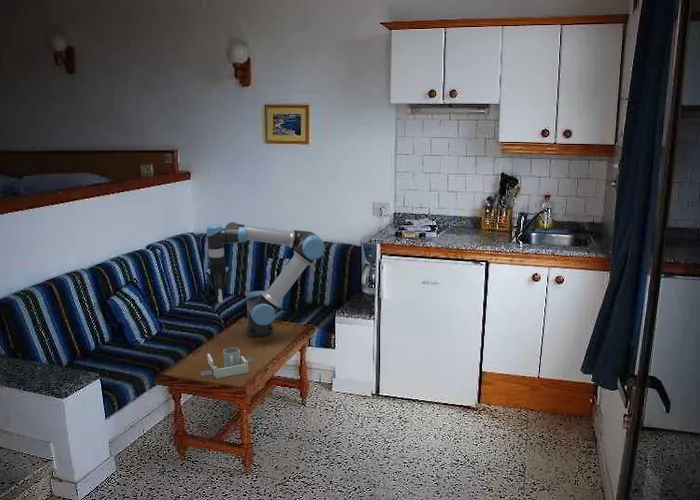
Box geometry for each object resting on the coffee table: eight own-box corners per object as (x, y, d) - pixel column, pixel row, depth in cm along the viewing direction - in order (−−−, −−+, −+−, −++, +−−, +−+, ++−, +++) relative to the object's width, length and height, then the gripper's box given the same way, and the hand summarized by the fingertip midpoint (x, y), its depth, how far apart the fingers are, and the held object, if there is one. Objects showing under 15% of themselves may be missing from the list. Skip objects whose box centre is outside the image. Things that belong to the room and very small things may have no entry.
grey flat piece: (249, 354, 291) (249, 344, 290) (260, 370, 273) (259, 359, 272) (196, 363, 281) (195, 353, 280) (203, 380, 263) (202, 370, 262)
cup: (239, 364, 280) (238, 346, 278) (240, 373, 270) (239, 354, 268) (224, 365, 279) (223, 348, 277) (224, 374, 269) (223, 356, 267)
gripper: (227, 252, 297) (231, 297, 302) (201, 256, 292) (205, 301, 297) (231, 255, 290) (235, 301, 296) (205, 259, 285) (209, 305, 290)
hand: (220, 301), depth 296 cm, fingers closed
